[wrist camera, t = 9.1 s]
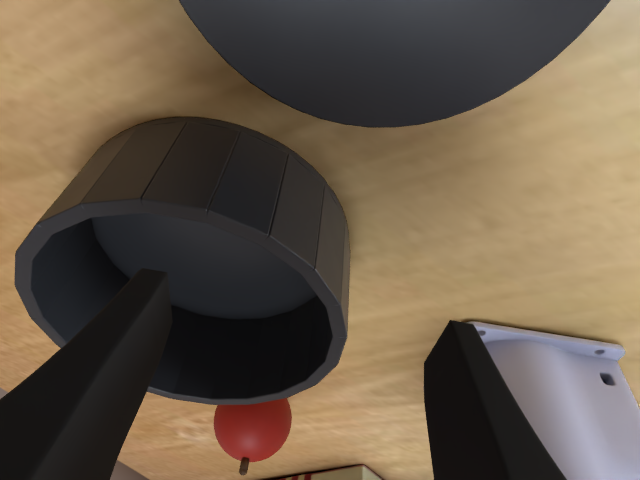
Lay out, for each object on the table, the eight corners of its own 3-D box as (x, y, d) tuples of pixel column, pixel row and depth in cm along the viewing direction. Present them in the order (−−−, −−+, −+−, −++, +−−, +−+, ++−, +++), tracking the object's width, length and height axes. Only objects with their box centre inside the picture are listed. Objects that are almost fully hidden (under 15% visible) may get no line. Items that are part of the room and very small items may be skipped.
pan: (378, 148, 18) (381, 239, 14) (325, 333, 27) (318, 420, 23) (50, 89, 17) (-44, 167, 13) (107, 299, 26) (61, 383, 22)
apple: (299, 370, 30) (288, 465, 26) (291, 405, 34) (280, 494, 29) (224, 359, 30) (199, 452, 26) (223, 396, 34) (201, 483, 29)
